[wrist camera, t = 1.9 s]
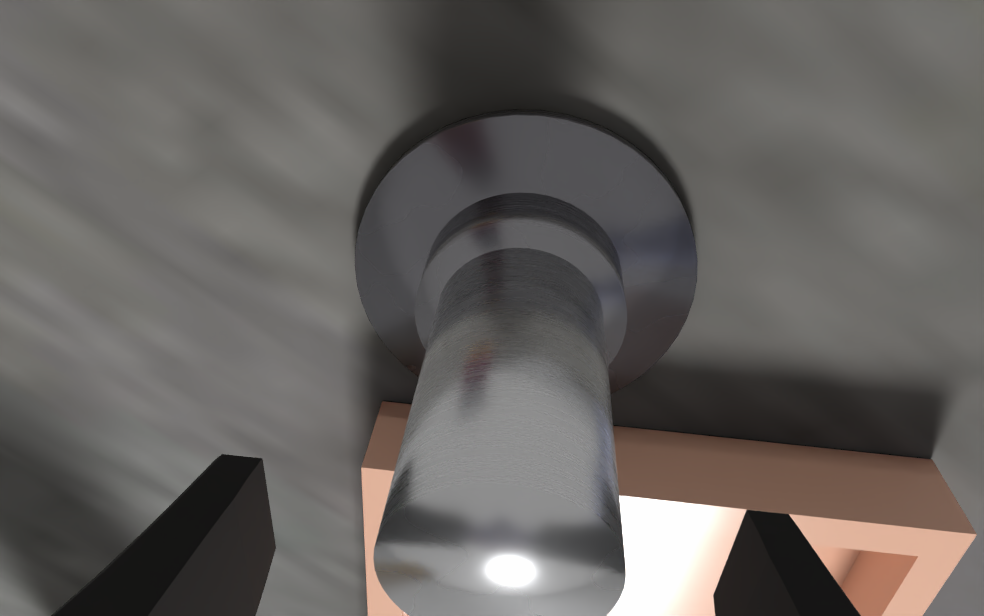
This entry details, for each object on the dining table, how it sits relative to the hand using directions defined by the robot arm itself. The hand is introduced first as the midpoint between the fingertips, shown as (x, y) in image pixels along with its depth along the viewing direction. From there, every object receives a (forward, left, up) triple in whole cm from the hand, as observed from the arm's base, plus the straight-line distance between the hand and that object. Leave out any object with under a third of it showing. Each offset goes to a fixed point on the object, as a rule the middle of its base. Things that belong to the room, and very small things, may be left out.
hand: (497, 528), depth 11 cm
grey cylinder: (0, 0, -7) cm, 7 cm away
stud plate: (0, 0, -8) cm, 8 cm away
